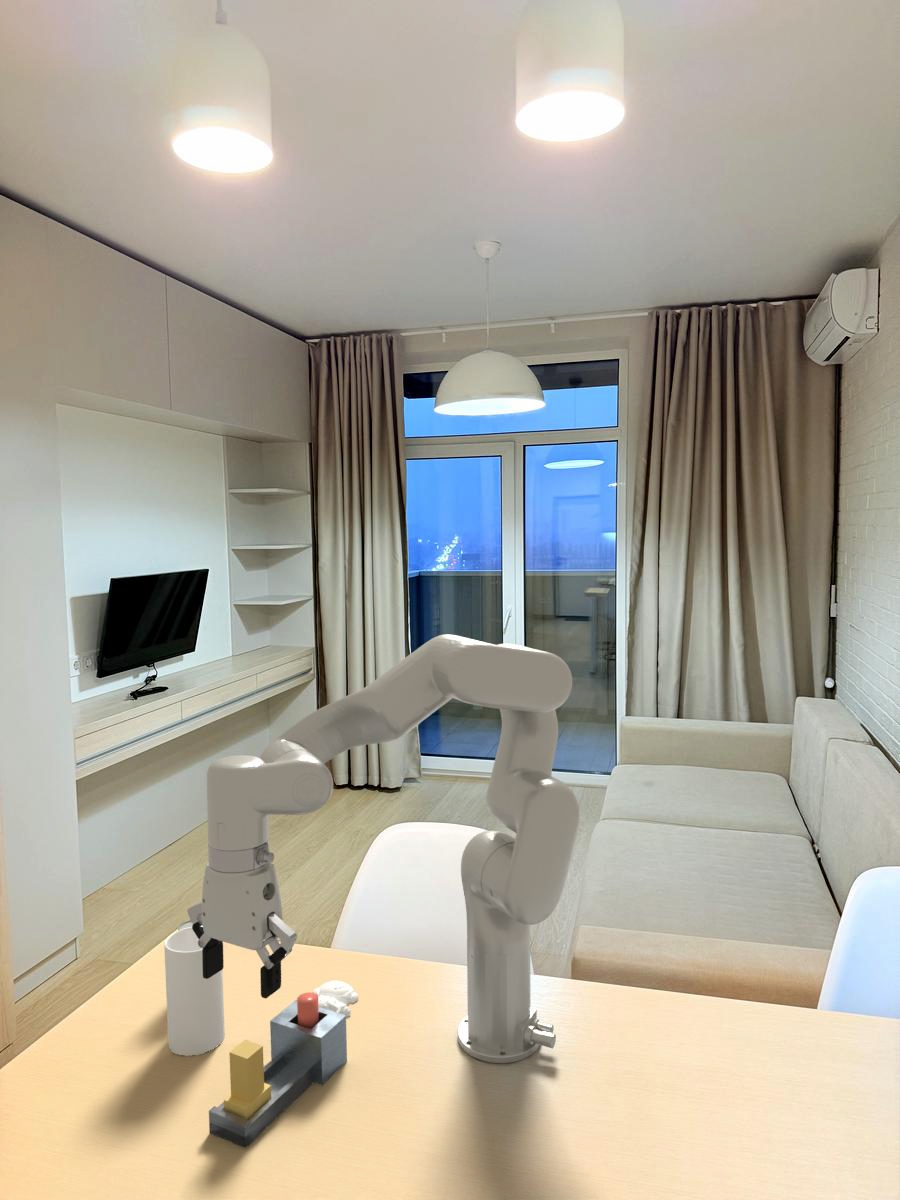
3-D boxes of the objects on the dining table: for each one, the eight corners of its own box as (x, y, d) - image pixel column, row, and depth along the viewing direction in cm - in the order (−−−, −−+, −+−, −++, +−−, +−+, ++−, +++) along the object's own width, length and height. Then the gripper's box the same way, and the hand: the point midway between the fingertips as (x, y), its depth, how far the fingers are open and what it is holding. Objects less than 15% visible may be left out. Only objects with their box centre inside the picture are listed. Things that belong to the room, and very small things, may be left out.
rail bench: (347, 1061, 121) (346, 1015, 121) (254, 1152, 104) (253, 1099, 103) (297, 1044, 126) (296, 999, 125) (200, 1129, 108) (198, 1077, 107)
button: (323, 1027, 121) (322, 995, 121) (310, 1038, 118) (309, 1006, 118) (306, 1021, 122) (305, 990, 122) (293, 1032, 120) (292, 1000, 119)
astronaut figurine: (285, 1025, 131) (285, 1006, 131) (322, 985, 142) (321, 968, 142) (335, 1036, 128) (335, 1017, 128) (368, 994, 140) (368, 977, 139)
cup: (208, 1059, 122) (204, 954, 121) (157, 1052, 124) (153, 949, 123) (234, 1026, 130) (230, 928, 129) (185, 1020, 132) (182, 923, 131)
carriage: (271, 1101, 111) (269, 1042, 110) (245, 1125, 106) (243, 1064, 106) (250, 1092, 112) (248, 1034, 112) (224, 1116, 108) (222, 1055, 107)
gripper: (311, 856, 106) (313, 986, 107) (209, 833, 114) (212, 954, 115) (273, 878, 99) (275, 1016, 100) (167, 852, 107) (170, 980, 108)
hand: (241, 983), depth 108 cm, fingers open, 9 cm apart
